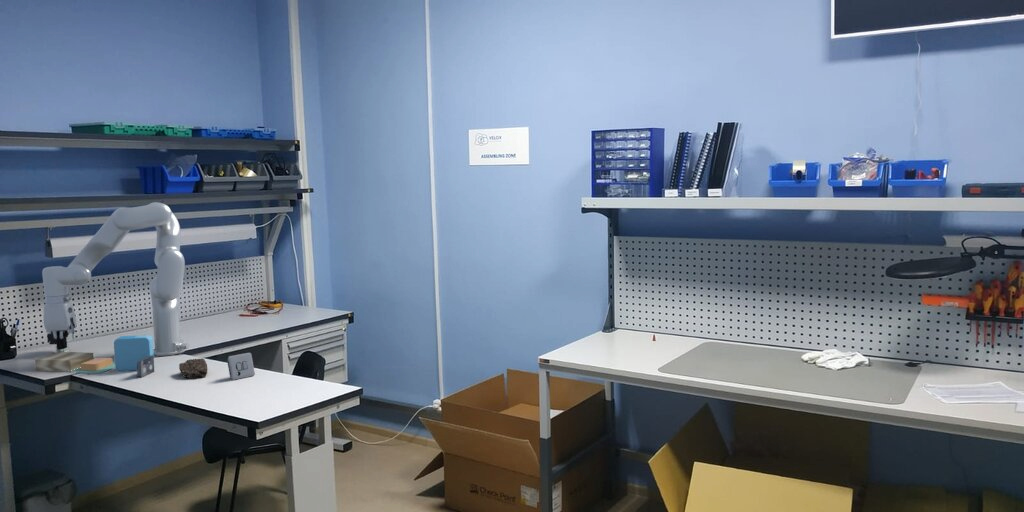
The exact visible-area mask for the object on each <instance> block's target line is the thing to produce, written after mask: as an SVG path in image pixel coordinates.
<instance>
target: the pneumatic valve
mask: <svg viewBox="0 0 1024 512" xmlns="http://www.w3.org/2000/svg"><path fill="white" fill-rule="evenodd" d="M74 334H75V332H74V333H70V334H69V335H68V337H66V339H67V348H65V349H57V344H56V339H55V338H54V336H53V335H52V334H49V333H47V334H46V336H47V343H49V345H55V353H57V352H70V350H69V347H70V346H69V344H68V342H70V341H73V340H74V338H75V337H74Z"/></svg>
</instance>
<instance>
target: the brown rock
mask: <svg viewBox="0 0 1024 512" xmlns="http://www.w3.org/2000/svg"><path fill="white" fill-rule="evenodd" d="M178 367H179V368H178V369H179V372H180V374H181V376H183V378H188V379H202V378H204V377H207V374H208V370H209V369H208V364H207V361H206V360H205V359H204V358H201V357H200V358H192V359H190V358H189V359H187V360H186V361H185V362H181V363H179V365H178Z"/></svg>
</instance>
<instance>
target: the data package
mask: <svg viewBox="0 0 1024 512" xmlns="http://www.w3.org/2000/svg"><path fill="white" fill-rule="evenodd" d="M113 349H114V350H113V351H114V362H115V368H114V369H115V370H117V371H118V372H125V371H131V372H132V371H137V361H140V360H142V359H144V358H146V357H149V356H154V357H155V355H154V351H153V349H154V337H152V336H151V335H147V334H144V335H122V336H119V337H117V338H116V339H115V340H113Z"/></svg>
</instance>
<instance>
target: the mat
mask: <svg viewBox="0 0 1024 512" xmlns="http://www.w3.org/2000/svg"><path fill="white" fill-rule="evenodd" d="M112 362H113V364H112V365H110V366H107V367H104V368H102V369H99V370H96V371H94V370H81V368H78V369H75V370H72V371H69V373H70V372H76V373H75V374H77V373H78V374H102V373H105V372H108V371H110V370H113V369H116V368H115V361H112Z"/></svg>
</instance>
